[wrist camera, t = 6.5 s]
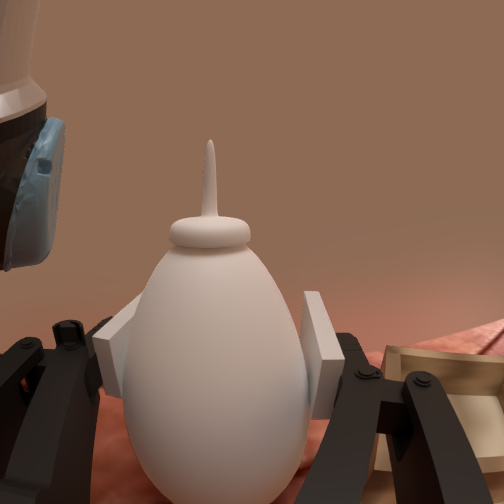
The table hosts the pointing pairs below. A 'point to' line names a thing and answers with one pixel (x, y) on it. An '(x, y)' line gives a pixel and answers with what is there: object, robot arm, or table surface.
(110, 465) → the table surface
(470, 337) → the table surface
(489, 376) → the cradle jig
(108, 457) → the table surface
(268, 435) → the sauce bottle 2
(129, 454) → the table surface
